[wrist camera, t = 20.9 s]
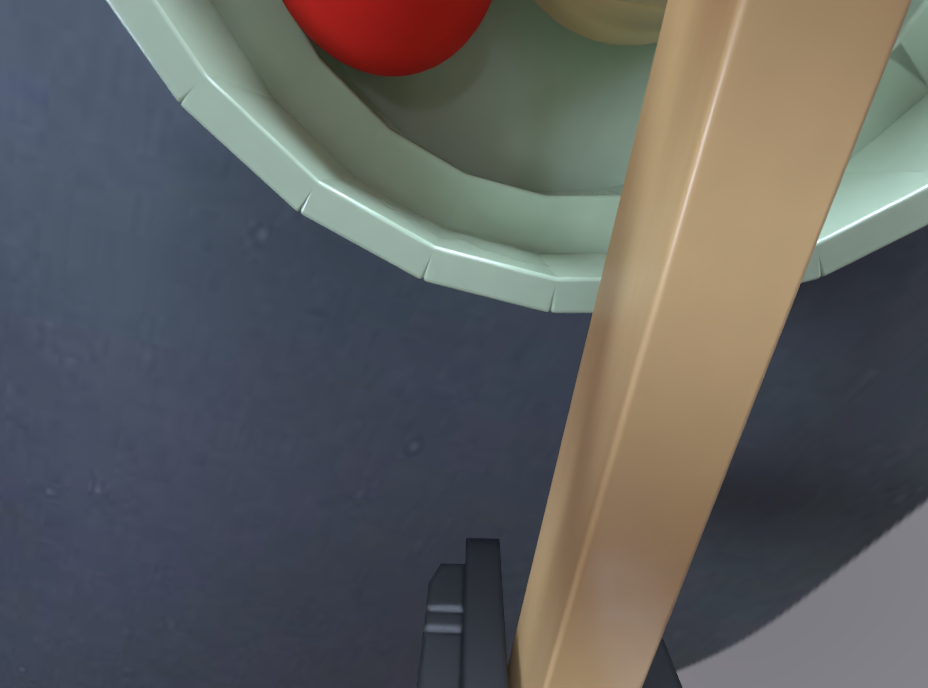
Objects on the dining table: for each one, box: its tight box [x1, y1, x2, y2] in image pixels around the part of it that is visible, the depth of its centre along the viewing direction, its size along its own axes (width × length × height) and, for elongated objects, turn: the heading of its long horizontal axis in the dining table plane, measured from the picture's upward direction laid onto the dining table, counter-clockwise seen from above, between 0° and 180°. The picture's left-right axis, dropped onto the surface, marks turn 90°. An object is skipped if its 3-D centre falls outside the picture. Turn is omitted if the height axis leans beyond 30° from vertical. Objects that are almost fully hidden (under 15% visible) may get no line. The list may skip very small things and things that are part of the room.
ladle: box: [507, 0, 912, 688], centre depth 7 cm, size 18×6×7 cm, turn 172°
